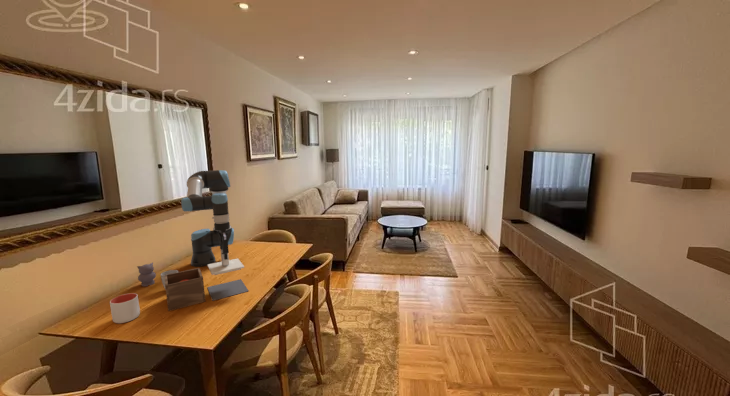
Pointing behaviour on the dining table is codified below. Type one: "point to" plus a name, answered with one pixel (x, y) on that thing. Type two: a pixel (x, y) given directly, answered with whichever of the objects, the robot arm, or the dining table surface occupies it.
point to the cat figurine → (146, 274)
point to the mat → (227, 289)
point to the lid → (225, 266)
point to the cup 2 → (166, 274)
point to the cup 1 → (125, 308)
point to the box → (184, 289)
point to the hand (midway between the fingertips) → (225, 263)
